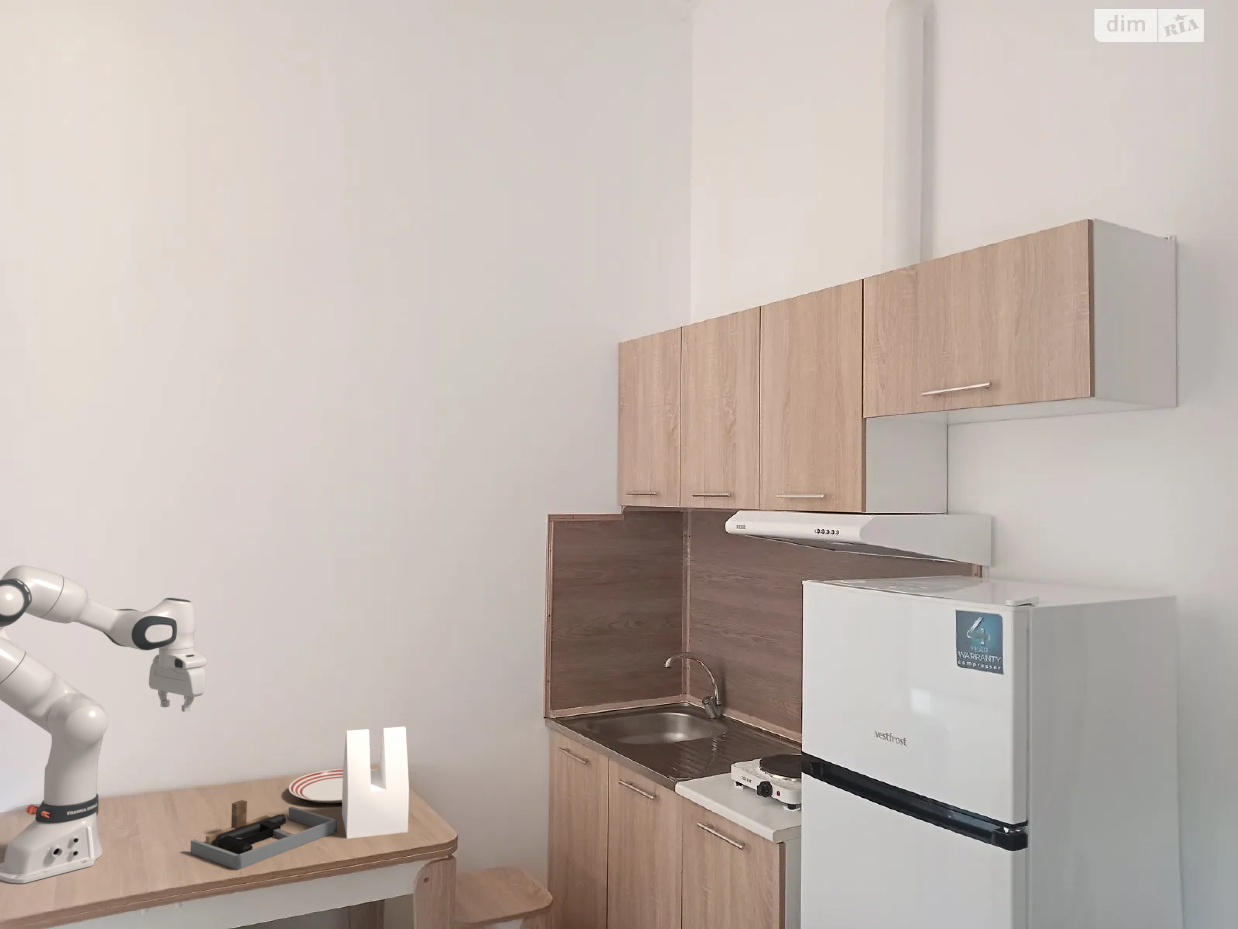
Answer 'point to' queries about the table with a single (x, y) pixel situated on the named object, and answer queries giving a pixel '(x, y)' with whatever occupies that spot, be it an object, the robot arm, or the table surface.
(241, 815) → the walnut scraper
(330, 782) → the dinner plate
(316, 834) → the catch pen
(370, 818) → the white fork-shaped stand
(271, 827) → the black angular piece
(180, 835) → the table surface
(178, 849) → the table surface
